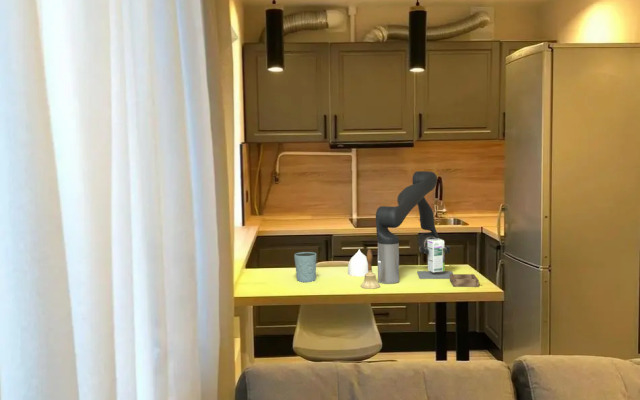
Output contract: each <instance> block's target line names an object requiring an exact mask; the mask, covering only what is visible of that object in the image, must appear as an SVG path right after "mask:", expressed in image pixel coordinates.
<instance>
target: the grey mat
mask: <svg viewBox="0 0 640 400" xmlns="http://www.w3.org/2000/svg"><path fill="white" fill-rule="evenodd" d="M416 273H417V275H418V276H417V277H418V279H420V280H421V279H422V280H435V279H436V280H438V279H439V280H450V274H454V272H453V271H452V270H445V271H444V272H431V271H429V270H417V271H416Z"/></svg>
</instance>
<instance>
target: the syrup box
mask: <svg viewBox="0 0 640 400" xmlns="http://www.w3.org/2000/svg"><path fill="white" fill-rule="evenodd" d="M427 241H428V242H427V243H428V250H429V255H427V271H431V272H444V271H446V270H445V268H446V267H445V266H446V265H445V255H444V247H445V240H444V239H442V238H439V239H430V240H427Z"/></svg>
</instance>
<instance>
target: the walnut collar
mask: <svg viewBox="0 0 640 400" xmlns="http://www.w3.org/2000/svg"><path fill="white" fill-rule="evenodd" d="M449 282H450V284H451V285H452V287H453V288H455V287H456V288H479V282H480V280H479V278H478V277H477V276H476V275H475V274H474V273H472V274H471V273H453V274H450V279H449Z"/></svg>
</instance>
